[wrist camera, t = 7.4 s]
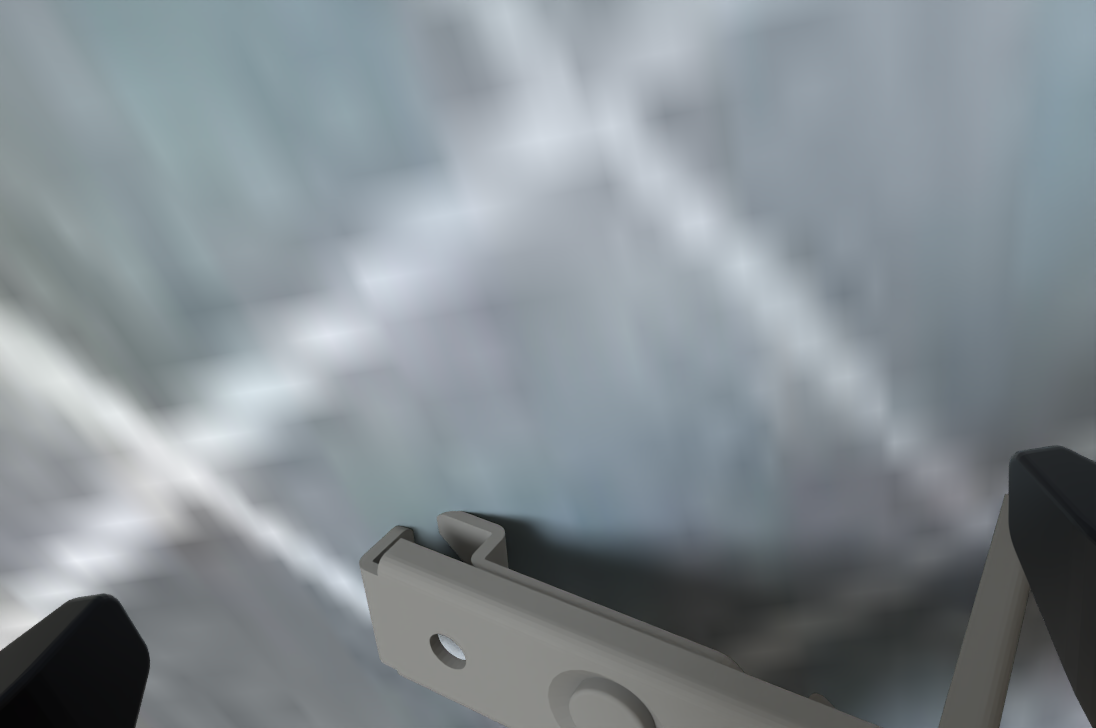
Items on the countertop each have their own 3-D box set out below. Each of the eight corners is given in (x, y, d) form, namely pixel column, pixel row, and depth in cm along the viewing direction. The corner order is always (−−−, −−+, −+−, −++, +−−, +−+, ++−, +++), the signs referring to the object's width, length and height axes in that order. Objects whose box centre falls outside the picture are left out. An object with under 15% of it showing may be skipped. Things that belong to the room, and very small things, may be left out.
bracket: (978, 762, 28) (899, 1098, 21) (571, 602, 35) (406, 815, 28) (1051, 492, 23) (980, 818, 16) (555, 365, 30) (347, 553, 23)
